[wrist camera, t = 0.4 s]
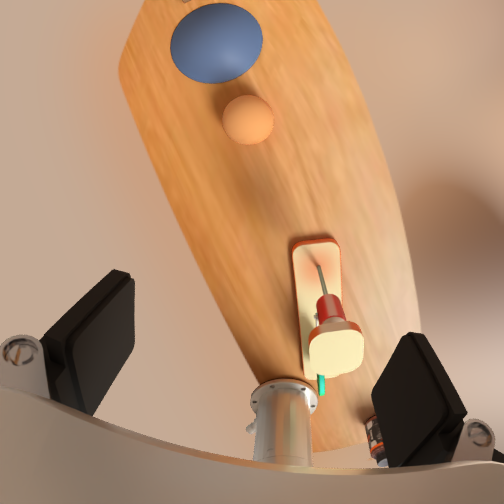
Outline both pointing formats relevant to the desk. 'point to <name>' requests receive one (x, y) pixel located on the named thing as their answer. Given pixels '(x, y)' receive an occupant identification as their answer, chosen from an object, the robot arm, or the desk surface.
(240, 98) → the ball
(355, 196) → the desk surface
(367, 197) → the desk surface
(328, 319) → the crank mechanism
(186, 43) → the mark
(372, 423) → the supplement bottle
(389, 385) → the robot arm
